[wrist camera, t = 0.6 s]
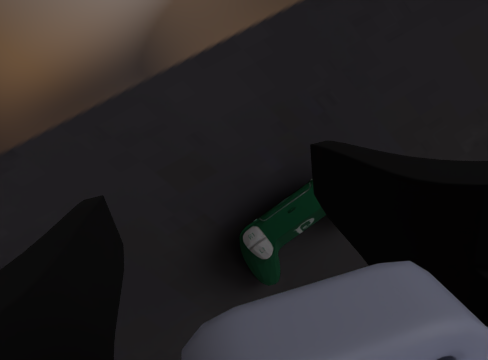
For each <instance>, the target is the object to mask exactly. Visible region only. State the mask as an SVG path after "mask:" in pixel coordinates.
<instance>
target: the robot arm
mask: <svg viewBox="0 0 488 360" xmlns="http://www.w3.org/2000/svg"><path fill="white" fill-rule="evenodd" d="M310 146H311V161H312V176H313V191H314V195H315V197H316V199H317V201H318V202H319V204H320V206H321V207H322V209H323V210H324V212H325V214H326V215H327V216H328V217H329V219H330V220H331V221H332V222H333V223H334V225H335V226H336V227H337V228H338V229H339V230H340V232H341V233H342V234H343V235H344V236H345V237H346V239H347V240H348V241H349V242H350V243H351V244H352V246H353V247H354V248H355V249H356V250H357V251H358V252H359V254H360V255H361V256H362V257H363V259H364V260H365V261H366V262H367V264H368V265H369V266H367V267H364V268H361V269H357V270H354V271H351V272H347V273H344V274H341V275H338V276H334V277H331V278H328V279H324V280H321V281H318V282H314V283H311V284H308V285H305V286H301V287H298V288H295V289H291V290H288V291H285V292H282V293H278V294H275V295H272V296H268V297H265V298H262V299H259V300H255V301H252V302H249V303H245V304H242V305H239V306H236V307H233V308H231V309H230V310H228V311H226V312H224V313H222V314H220V315H218V316H216V317H214V318H212V319H210V320H208V321H206V322H205V323H203V324H202V325H201V326H200V327H199V329H198V330H197V331H196V332H195V334H194V335H193V336H192V337H191V339H190V340H189V341H188V343H187V344H186V345H185V346H184V348H183V349H182V355H181V360H488V161H451V160H436V159H427V158H417V157H410V156H403V155H398V154H392V153H386V152H382V151H377V150H372V149H368V148H363V147H359V146H354V145H350V144H346V143H341V142H335V141H323V142H319V143H315V144H311V145H310ZM123 272H124V250H123V243H122V240H121V238H120V235H119V233H118V230H117V228H116V226H115V223H114V221H113V218H112V216H111V213H110V211H109V208H108V206H107V203H106V201H105V199H104V196H99V197H95V198H91V199H86V200H83V201H82V202H80V203H79V204H78V205H77V206H75V207H74V208H73V209H72V210H71V211H70V212H69V213H68V214H67V215H65V216H64V217H63V218H62V219H61V220H60V221H59V222H58V223H57V224H56V225H55V226H53V227H52V228H51V229H50V230H49V231H48V232H47V233H46V234H45V235H43V236H42V237H41V238H40V239H39V240H38V241H36V242H35V243H34V244H33V245H32V246H30V247H29V248H28V249H27V250H26V251H25V252H23V253H22V254H21V255H20V256H18V257H17V258H16V259H14V260H13V261H12V262H10V263H9V264H8V265H6V266H5V267H4V268H2V269H1V270H0V360H114V339H115V329H116V322H117V315H118V308H119V301H120V294H121V287H122V280H123Z"/></svg>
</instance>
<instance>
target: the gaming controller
mask: <svg viewBox="0 0 488 360" xmlns="http://www.w3.org/2000/svg"><path fill="white" fill-rule="evenodd" d="M325 215H326V214H325V212H324V210H323V209H322V207H321V206H320V204H319V202H318V201H317V199H316V197H315V195H314V191H313V179H311V180H310V181H309V182H308V183H307V184H306V185H304V186H303V187H301V188H300V189H299V190H297V191H296V192H294V193H293V194H292V195H290V196H289V197H287V198H286V199H285V200H283V201H282V202H280V203H279V204H278V205H276V206H275V207H273V208H272V209H270V210H269V211H268V212H266V213H265V214H263V215H262V216H261V217H260V218H258V219H256V220H254V222H252V223H251V224H249V225H248V226H246V227H245V228H244V230H243V231H242V232H241V233H240V236H239V240H240V248H241V252H242V255H243V257H244V259H245V262H246V264H247V265H248V267H249V268H250V270H251V271H252V273H253V274H254V276H255V277H256V278H257V279H258V280H259V281H260V282H262V283H263V284H266V285H268V286H269V285H273V284H276V283H277V282H278V281H279V277H280V263H279V257H278V252H279V249H280V248H281V247H282V246H283V245H285V244H286V243H287V242H289V241H290V240H292V239H293V238H294V237H296V236H297V235H299V234H300V233H301V232H303V231H304V230H306V229H307V228H309V227H310V226H311V225H313V224H314V223H316V222H317V221H318V220H320V219H321V218H323V217H324V216H325Z"/></svg>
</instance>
